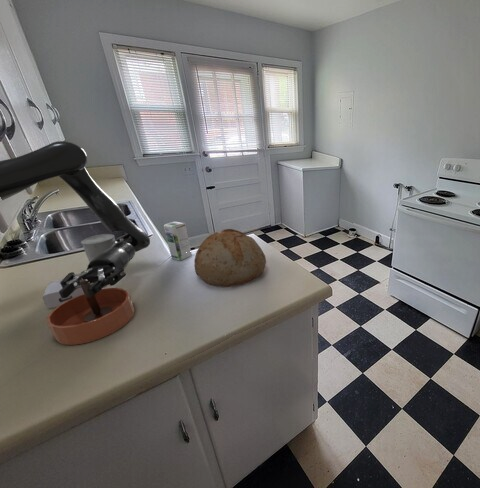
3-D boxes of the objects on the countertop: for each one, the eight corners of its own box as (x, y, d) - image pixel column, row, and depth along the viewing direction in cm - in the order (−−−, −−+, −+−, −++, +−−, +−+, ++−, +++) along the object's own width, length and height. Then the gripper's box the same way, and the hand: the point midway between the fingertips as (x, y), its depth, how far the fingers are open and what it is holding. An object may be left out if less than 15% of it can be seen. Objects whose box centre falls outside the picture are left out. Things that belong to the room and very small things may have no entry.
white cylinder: (124, 260, 109) (114, 232, 104) (124, 270, 101) (113, 240, 97) (94, 267, 104) (82, 237, 99) (92, 277, 97) (79, 246, 92)
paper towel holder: (79, 327, 72) (61, 288, 67) (90, 312, 77) (74, 275, 72) (108, 322, 73) (92, 283, 68) (116, 308, 79) (102, 271, 74)
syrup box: (170, 258, 110) (162, 225, 104) (183, 252, 115) (175, 220, 109) (180, 261, 108) (172, 227, 102) (192, 255, 113) (185, 222, 107)
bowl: (44, 354, 64) (34, 336, 62) (67, 313, 78) (59, 297, 76) (130, 330, 71) (124, 314, 69) (137, 297, 85) (132, 282, 83)
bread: (189, 266, 104) (181, 230, 98) (247, 250, 116) (243, 217, 110) (208, 298, 84) (199, 255, 78) (275, 275, 97) (272, 237, 91)
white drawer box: (91, 278, 96) (87, 298, 85) (57, 286, 91) (47, 309, 80) (86, 266, 94) (81, 285, 83) (51, 274, 89) (40, 295, 78)
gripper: (78, 254, 80) (36, 284, 65) (132, 249, 83) (104, 277, 68) (87, 276, 83) (49, 309, 68) (139, 271, 86) (113, 302, 71)
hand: (77, 293), depth 68 cm, fingers open, 6 cm apart
